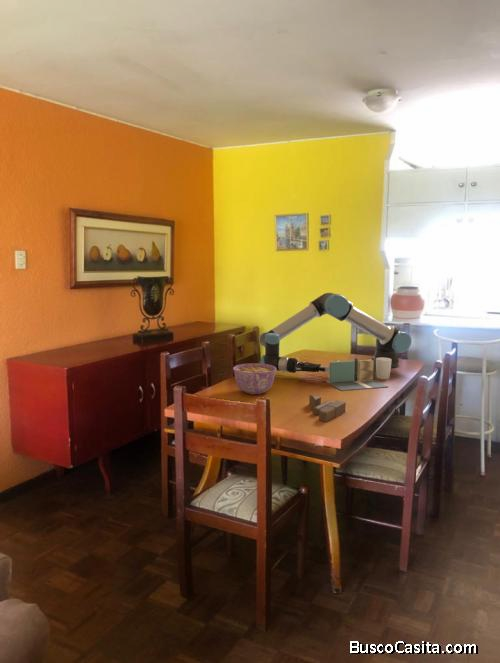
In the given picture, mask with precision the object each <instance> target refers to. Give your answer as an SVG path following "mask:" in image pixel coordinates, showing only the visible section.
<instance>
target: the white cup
mask: <svg viewBox="0 0 500 663" xmlns="http://www.w3.org/2000/svg"><path fill="white" fill-rule="evenodd" d="M391 361H392V359H390V358H384V357H380V358H376V366H375V375H376V376H375V377H376V379H379V380H389V379H390V377H391V369H392V367H391Z"/></svg>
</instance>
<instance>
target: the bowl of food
mask: <svg viewBox="0 0 500 663" xmlns="http://www.w3.org/2000/svg"><path fill="white" fill-rule="evenodd" d="M232 369H233V373H234V377H235V382H236V385H237V387H238V388H239V390H241V391H243V392H245V393H246V392H247V393H250V394H249V395H253V394H257V395H261V394H264V393H265V392H267V391H269V390H270V389H271V388H272V386H273V384H274V380H275V376H276V372H277V371H276V367H274V366H272V365H268V364H260V363H242V364H238V365H234V367H232ZM247 393H246V394H247Z"/></svg>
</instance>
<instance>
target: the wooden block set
mask: <svg viewBox="0 0 500 663" xmlns="http://www.w3.org/2000/svg"><path fill="white" fill-rule="evenodd" d="M308 398H309V399H308V401H309V402H308V406H310V407H311V408H312V409H311V413H312V414H313V415H314V416H318V419H319V420H320V421H321V422H323V423H327V422H328V421H331V420H333V419H334V418H337V417H339V416H341V415H343V414H344V413H346V404H347V402H345V401H340V400H334V401H330V400H326V401H324V402H322V397H321V396H317V395H316V396H315V395H312V394H311V395H310V394H309V396H308Z"/></svg>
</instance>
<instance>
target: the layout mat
mask: <svg viewBox="0 0 500 663" xmlns="http://www.w3.org/2000/svg"><path fill="white" fill-rule="evenodd" d="M327 384H328V385H330V386H332V387H334V388H335V389H337V390H339V391H341V392H345V391H359V390H370V389H382V388H383V389H384V388H385V389H386V388H388V387H389V386H388V385H385V384H384V383H382V382H379V381H377V380H375V379H374V380H358V377H357V381H344V382H327Z"/></svg>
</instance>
